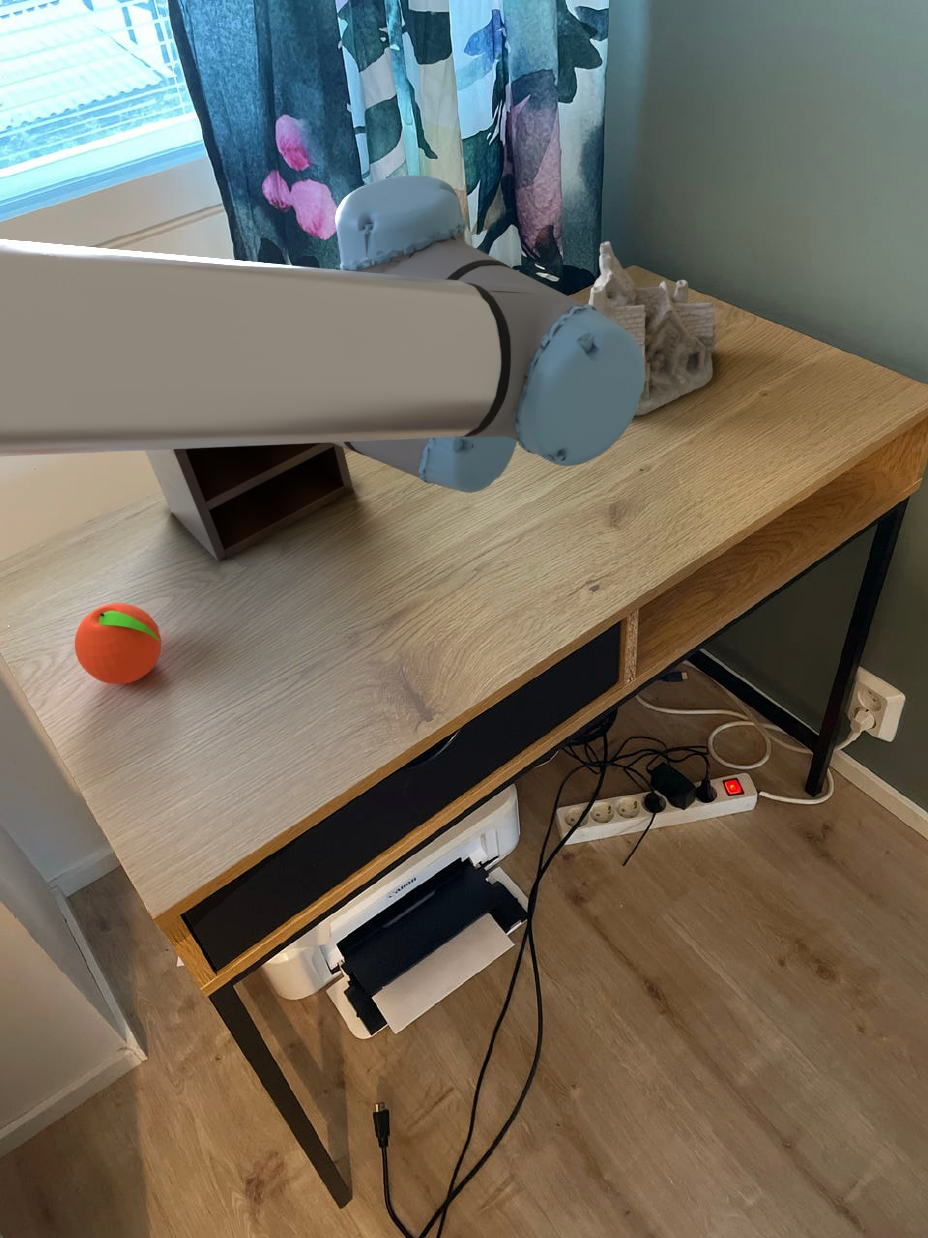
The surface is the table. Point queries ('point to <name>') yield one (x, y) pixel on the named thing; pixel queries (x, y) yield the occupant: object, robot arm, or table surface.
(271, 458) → the shelf
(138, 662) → the clementine
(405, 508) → the table surface
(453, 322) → the robot arm
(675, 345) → the ceramic cottage
